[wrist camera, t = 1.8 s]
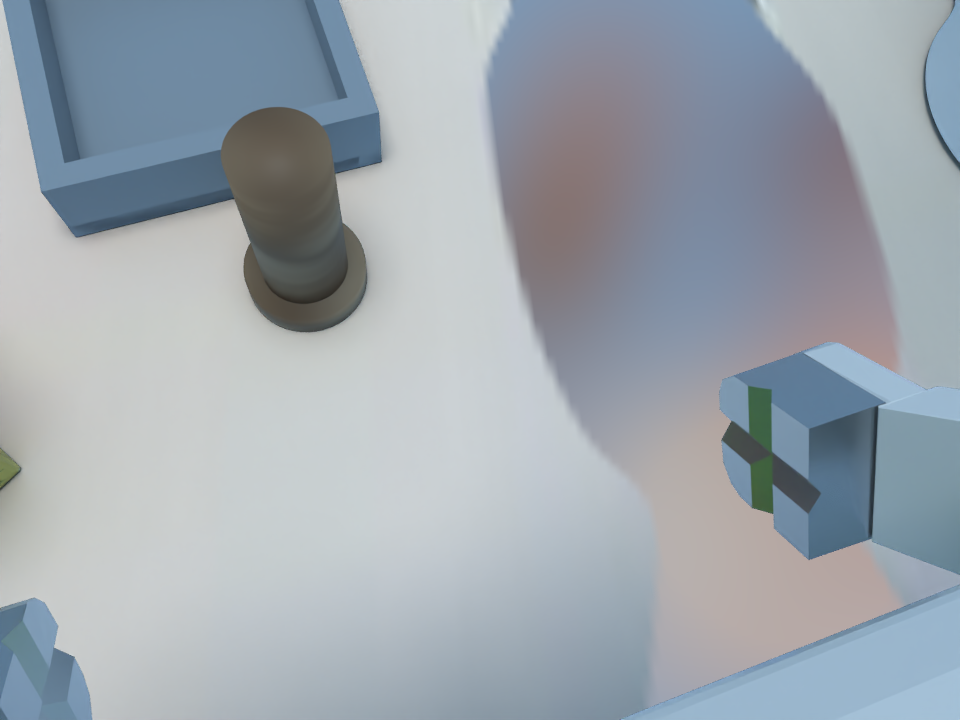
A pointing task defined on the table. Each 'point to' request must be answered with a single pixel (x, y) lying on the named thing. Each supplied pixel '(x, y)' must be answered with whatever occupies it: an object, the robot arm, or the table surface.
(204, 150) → the tray
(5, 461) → the candy box
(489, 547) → the table surface
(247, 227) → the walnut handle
